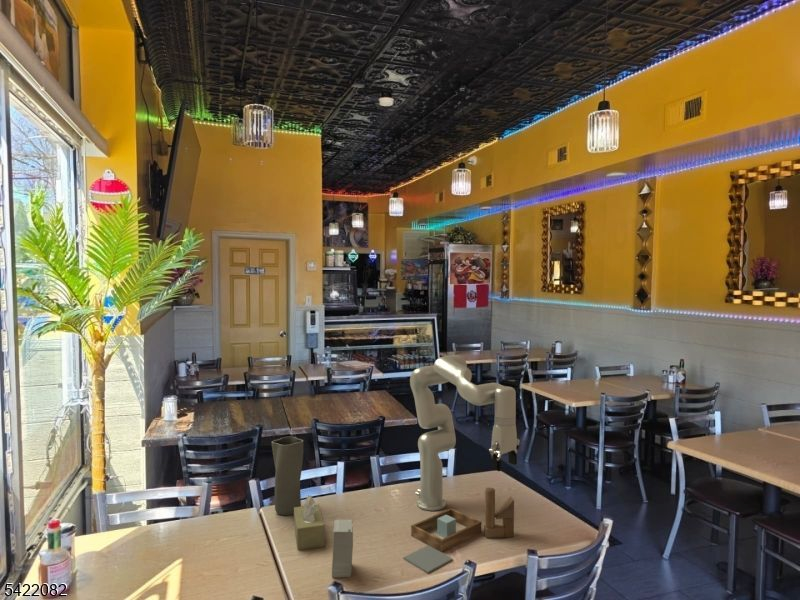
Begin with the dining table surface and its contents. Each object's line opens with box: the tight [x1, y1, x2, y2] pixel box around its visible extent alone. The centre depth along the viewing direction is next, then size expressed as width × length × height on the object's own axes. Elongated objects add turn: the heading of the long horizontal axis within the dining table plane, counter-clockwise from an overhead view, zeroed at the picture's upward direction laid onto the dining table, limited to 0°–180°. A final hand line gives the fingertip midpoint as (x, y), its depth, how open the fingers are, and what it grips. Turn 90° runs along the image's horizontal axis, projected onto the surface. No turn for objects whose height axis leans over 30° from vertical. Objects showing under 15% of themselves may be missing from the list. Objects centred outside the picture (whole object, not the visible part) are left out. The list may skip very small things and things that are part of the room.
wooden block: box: [483, 487, 515, 539], centre depth 193 cm, size 4×11×18 cm, turn 96°
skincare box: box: [331, 519, 354, 578], centre depth 169 cm, size 8×7×16 cm
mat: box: [402, 545, 453, 574], centre depth 176 cm, size 12×12×1 cm
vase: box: [271, 436, 304, 516], centre depth 214 cm, size 12×12×30 cm
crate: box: [410, 508, 482, 553], centre depth 194 cm, size 16×22×4 cm
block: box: [436, 515, 457, 539], centre depth 194 cm, size 5×5×6 cm
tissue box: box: [293, 495, 326, 551], centre depth 193 cm, size 19×10×16 cm, turn 16°
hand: (504, 466), depth 187 cm, fingers open, 9 cm apart
